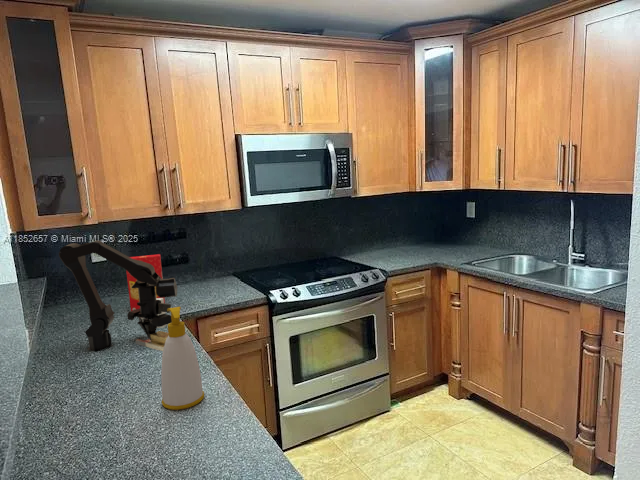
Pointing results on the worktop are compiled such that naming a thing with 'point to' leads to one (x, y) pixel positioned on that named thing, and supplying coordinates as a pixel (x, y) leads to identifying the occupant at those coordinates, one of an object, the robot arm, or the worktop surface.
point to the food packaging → (133, 292)
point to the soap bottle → (180, 367)
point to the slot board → (149, 344)
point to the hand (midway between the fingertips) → (151, 339)
